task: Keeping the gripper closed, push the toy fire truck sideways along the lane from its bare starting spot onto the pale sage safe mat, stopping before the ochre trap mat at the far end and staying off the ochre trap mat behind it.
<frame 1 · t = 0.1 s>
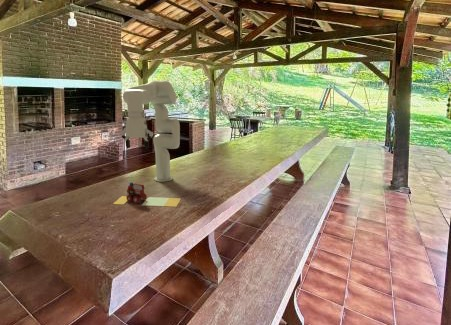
hand: (137, 148, 151), 31 cm above the table, tool pointing down, fingers open, 9 cm apart
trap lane: (147, 201, 163), on the table
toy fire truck: (136, 201, 163), on the table, touching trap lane
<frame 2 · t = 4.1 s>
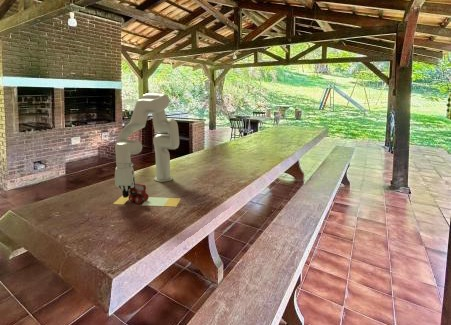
hand: (125, 196, 163), 2 cm above the table, tool pointing down, fingers closed
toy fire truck: (138, 201, 163), on the table, touching gripper
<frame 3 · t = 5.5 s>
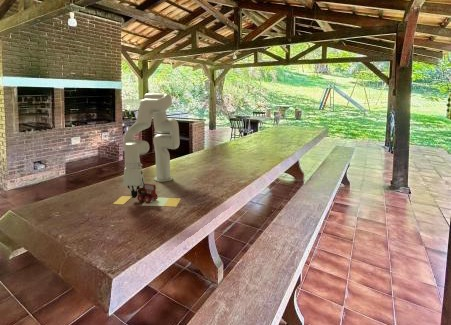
hand: (134, 197, 162), 2 cm above the table, tool pointing down, fingers closed
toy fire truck: (147, 200, 163), on the table
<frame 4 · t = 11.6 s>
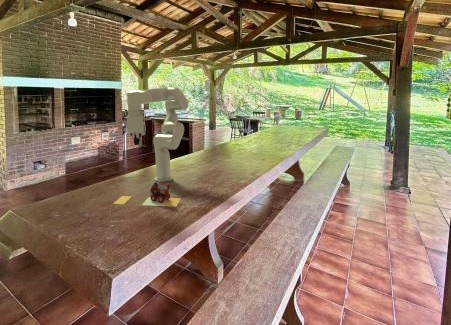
hand: (136, 144, 172), 29 cm above the table, tool pointing down, fingers closed
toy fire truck: (160, 200, 164), resting on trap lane
at the end: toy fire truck inside the target area on the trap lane (2.4 cm from its centre), point 0.0 cm above the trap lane's base; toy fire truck tilted 0° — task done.
